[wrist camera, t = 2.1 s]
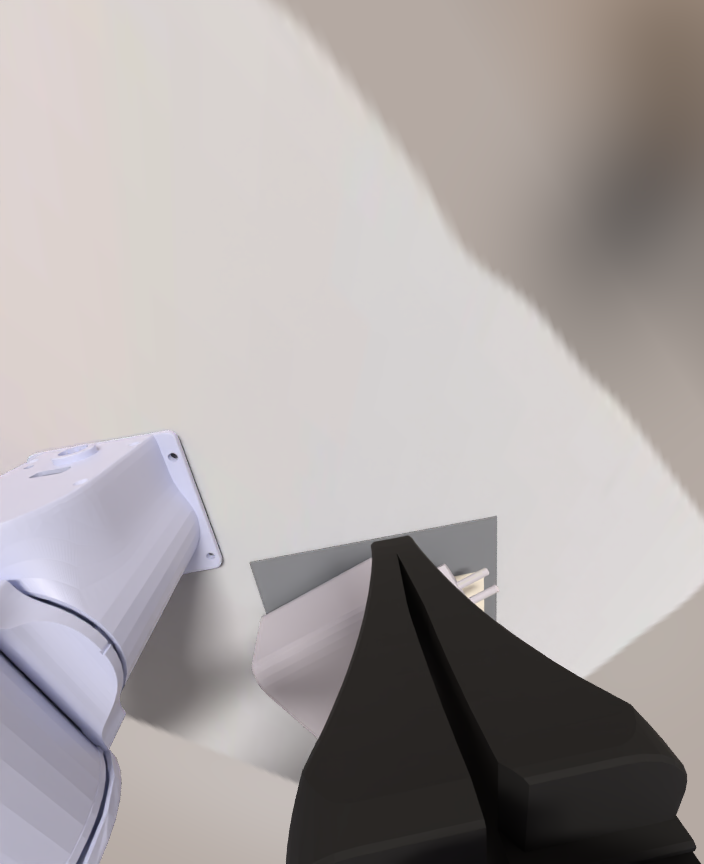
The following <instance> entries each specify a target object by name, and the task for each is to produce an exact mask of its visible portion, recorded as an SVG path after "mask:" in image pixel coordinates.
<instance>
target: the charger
mask: <svg viewBox="0 0 704 864" xmlns="http://www.w3.org/2000/svg"><path fill="white" fill-rule="evenodd" d="M371 566H372V558H369V559H367V560H365V561H363V562H362V563H360V564H358V565H356V566H354V567H352V568H351V569H349V570H347V571H345V572H343V573H341V574H340V575H338V576H336V577H334V578H332V579H330V580H329V581H327V582H325V583H323V584H321V585H319V586H318V587H316V588H314V589H312V590H310V591H309V592H307V593H305V594H303V595H301V596H299V597H298V598H296V599H294V600H292V601H290V602H288V603H287V604H285V605H283V606H281V607H279V608H277V609H276V610H274V611H272V612H270V613H268V614H266V615H265V616H263V617H262V618H261V620H260V625H259V630H258V635H257V640H256V646H255V651H254V656H253V661H252V671H253V674H254V677H255V679H256V681H257V683H258V684H259V686H260V687H261V689H262V690H263V691H264V692H265V693H266V694H267V695H268V696H269V697H271V698H272V699H273V700H274V701H275V702H276V703H277V704H279V705H280V706H281V707H282V708H283V709H284V710H286V711H287V712H288V713H289V714H290V715H291V716H292V717H294V718H295V719H296V720H297V721H298V722H299V723H301V724H302V725H303V726H304V727H305V728H306V729H307V730H309V731H310V732H311V733H312V734H313V735H314V736H316V737H317V738H319V736H320V734H321V732H322V730H323V728H324V726H325V724H326V721H327V719H328V717H329V715H330V712H331V710H332V707H333V705H334V703H335V700H336V698H337V695H338V693H339V691H340V688H341V686H342V683H343V681H344V678H345V675H346V673H347V670H348V667H349V664H350V661H351V658H352V655H353V652H354V649H355V646H356V643H357V639H358V636H359V632H360V628H361V625H362V621H363V617H364V612H365V607H366V602H367V597H368V592H369V585H370V577H371ZM437 568H438V569H439V570H440V571H441V572H442V573H443V574H444V575H445V576H446V577H447V578H448V580H449V581H450V582H452V583H453V584H454V585H455V586H456V587H457V588H458V589H459V590H460V591H461V592H462V593H463V594H464V595H465V593H464V592H463V590H462V588H464V587H466V586H468V585H470V584H472V583H474V582H476V581H478V580H480V579H482V578H484V577H485V576H487V575H489V571H488V570H487V568H483V569H481V570H479V571H477V572H475V573H473V574H471V575H469V576H467V577H465V578H464V579H462V580H460V581H458V582H457V581H456V579H455V577H454V576H453V574H452V573H451V571H450V569H449V568H448V567H447V566H446V564H445V563H444V564H442V565H440V566H438V567H437ZM497 592H499V589H498V587H497V586H496V585H493V586H491V587H489V588H487V589H485V590H483V591H481V592H479V593H477V594H475V595H473V596H471V597H469V599H470V600H471V601H472V602H473V603H474V604H476V603H478V602H480V601H482V600H483V599H485V598H487V597H489V596H491V595H493V594H495V593H497ZM465 596H466V595H465Z"/></svg>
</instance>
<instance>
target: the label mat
mask: <svg viewBox="0 0 704 864" xmlns="http://www.w3.org/2000/svg"><path fill="white" fill-rule="evenodd" d="M407 535H409V536H410V537H412V538H413V540H414V541H415V543H416V544H417V545H418V546H419V548H420V549H421V550H422V551H423V553H424V554H425V555H426V556H427V557H428V558H429V559H430V561H431V562H432V563H433V564H434V565H435V566H436V567H438V566H440V565H442V564H444V563H445V564H446V566H447V567H448V568H449V569H450V571H451V573H452V574H453V576H454V577H455V579H456V581H457V582H458V581H460V580H462V579H464V578H465V577H467V576H469V575H471V574H473V573H475V572H477V571H479V570H481V569H483V568H487V570H488V571H489V575H487V576H485V577H484V578H482V579H480V580H478V581H476V582H474V583H472V584H470V585H468V586H466V587H464V588H462V590H463V592H464V593H465V595H466V597H468V598H469V597H471V596H473V595H475V594H477V593H479V592H481V591H483V590H485V589H487V588H489V587H491V586H493V585H496V584H497V517H496V516H494V517H489V518H484V519H478V520H473V521H468V522H462V523H457V524H452V525H446V526H441V527H436V528H430V529H425V530H420V531H414V532H409V533H404V534H398V535H393V536H388V537H382V538H377V539H372V540H366V541H361V542H356V543H350V544H345V545H340V546H334V547H329V548H323V549H318V550H313V551H307V552H302V553H297V554H291V555H286V556H281V557H275V558H270V559H265V560H259V561H254V562H250V566H251V569H252V572H253V575H254V578H255V581H256V584H257V587H258V590H259V593H260V596H261V599H262V602H263V605H264V608H265V611H266V614H268V613H270V612H272V611H274V610H276V609H277V608H279V607H281V606H283V605H285V604H287V603H288V602H290V601H292V600H294V599H296V598H298V597H299V596H301V595H303V594H305V593H307V592H309V591H310V590H312V589H314V588H316V587H318V586H319V585H321V584H323V583H325V582H327V581H329V580H330V579H332V578H334V577H336V576H338V575H340V574H341V573H343V572H345V571H347V570H349V569H351V568H352V567H354V566H356V565H358V564H360V563H362V562H363V561H365V560H367V559H369V558H372V551H371V544H372V543H373V542H375V541H381V540H386V539H391V538H397V537H402V536H407ZM475 605H477V606H478V607H479V608H480V609H481V610H483V611H484V612H485V613H486V614H488V615H489V616H490V617H491V618H493V619H494V620H495V621H496V593H495V594H493V595H491V596H489V597H487V598H485V599H483V600H482V601H480V602H478V603H476V604H475Z"/></svg>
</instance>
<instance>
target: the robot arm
mask: <svg viewBox="0 0 704 864" xmlns="http://www.w3.org/2000/svg"><path fill="white" fill-rule="evenodd" d="M171 453H175V454H176V455H177V456H178V459H175V458H173V457H172V456H171ZM371 551H372V566H371V577H370V585H369V592H368V597H367V602H366V607H365V612H364V617H363V621H362V625H361V628H360V632H359V636H358V639H357V643H356V646H355V649H354V652H353V655H352V658H351V661H350V664H349V667H348V670H347V673H346V675H345V678H344V681H343V683H342V686H341V688H340V691H339V693H338V695H337V698H336V700H335V703H334V705H333V707H332V710H331V712H330V715H329V717H328V719H327V721H326V724H325V726H324V728H323V730H322V732H321V734H320V736H319V738H318V740H317V742H316V744H315V746H314V748H313V750H312V752H311V754H310V756H309V758H308V760H307V763H306V765H305V767H304V769H303V771H302V775H301V778H300V782H299V787H298V791H297V795H296V799H295V804H294V808H293V813H292V818H291V824H290V830H289V838H288V844H287V855H286V864H701V863H700V862H699V860H698V859H697V858H696V856H695V854H694V853H693V851H695V849H696V845H695V843H694V841H693V839H692V837H691V836H690V835H689V833H688V832H687V830H686V829H685V828H684V826H683V825H682V823H681V822H680V820H679V819H678V818H677V816H676V814H677V811H678V809H679V806H680V803H681V801H682V798H683V795H684V793H685V790H686V784H687V774H686V771H685V768H684V766H683V764H682V763H681V762H680V760H679V759H678V758H677V757H676V755H675V754H674V753H673V752H672V751H671V749H670V748H669V747H668V746H667V744H666V743H665V742H664V740H663V739H662V738H661V737H660V736H659V735H658V734H657V732H656V731H655V730H654V729H653V728H652V727H651V726H650V725H649V724H648V722H647V721H646V720H645V719H644V718H643V717H642V716H641V715H640V714H639V713H638V712H637V711H636V710H635V709H634V708H633V706H632V705H631V704H629V703H627V702H625V701H623V700H622V699H620V698H617V697H616V696H614V695H612V694H610V693H608V692H607V691H605V690H603V689H601V688H599V687H597V686H595V685H594V684H592V683H590V682H588V681H586V680H584V679H582V678H581V677H579V676H577V675H575V674H574V673H572V672H570V671H569V670H567V669H566V668H564V667H562V666H561V665H559V664H557V663H556V662H554V661H552V660H551V659H549V658H548V657H546V656H545V655H543V654H542V653H540V652H539V651H537V650H536V649H534V648H533V647H531V646H530V645H528V644H527V643H525V642H524V641H522V640H521V639H519V638H518V637H516V636H515V635H514V634H512V633H511V632H510V631H508V630H507V629H506V628H504V627H503V626H502V625H500V624H499V623H498V622H496V621H495V620H494V619H493V618H491V617H490V616H489V615H488V614H486V613H485V612H484V611H483V610H481V609H480V608H479V607H478V606H477V605H475V604H474V603H473V602H472V601H471V600H470V599H469V598H468V597H466V596H465V595H464V594H463V593H462V592H461V591H460V590H459V589H458V588H457V587H456V586H455V585H454V584H453V583H452V582H450V581H449V580H448V578H447V577H446V576H445V575H444V574H443V573H442V572H441V571H440V570H439V569H438V568H437V567H436V566H435V565H434V564H433V563H432V562H431V561H430V559H429V558H428V557H427V556H426V555H425V554H424V553H423V551H422V550H421V549H420V548H419V546H418V545H417V544H416V543H415V541H414V540H413V538H412V537H410V536H409V535H407V536H402V537H397V538H391V539H386V540H381V541H375V542H373V543H372V544H371ZM209 553H213V554H214V555H210V554H209ZM221 562H222V555H221V552H220V550H219V547H218V544H217V542H216V539H215V536H214V533H213V531H212V528H211V525H210V522H209V520H208V517H207V514H206V511H205V509H204V506H203V503H202V501H201V498H200V495H199V492H198V490H197V487H196V484H195V481H194V479H193V476H192V473H191V470H190V468H189V465H188V462H187V460H186V457H185V454H184V451H183V449H182V446H181V443H180V440H179V438H178V436H177V434H176V433H174V432H173V431H170V430H166V431H160V432H154V433H148V434H142V435H136V436H131V437H125V438H119V439H113V440H107V441H102V442H96V443H87V444H81V445H77V446H72V447H67V448H61V449H55V450H49V451H43V452H38V453H35V454H33V455H31V456H29V457H28V459H27V462H26V463H24V464H22V465H20V466H18V467H16V468H14V469H12V470H10V471H8V472H6V473H4V474H2V475H1V476H0V864H99V863H100V860H101V858H102V856H103V853H104V851H105V848H106V846H107V844H108V841H109V838H110V835H111V832H112V829H113V826H114V823H115V820H116V815H117V811H118V807H119V802H120V795H121V784H122V782H121V771H120V767H119V764H118V761H117V759H116V757H115V756H114V755H113V753H112V752H111V751H110V750H109V748H110V746H111V744H112V742H113V740H114V738H115V736H116V733H117V732H118V729H119V727H120V725H121V723H122V721H123V719H124V717H125V715H126V712H125V710H124V709H123V708H122V706H121V703H120V694H121V691H122V689H123V687H124V686H125V684H126V682H127V680H128V678H129V676H130V674H131V672H132V670H133V668H134V666H135V664H136V663H137V661H138V659H139V657H140V655H141V653H142V651H143V649H144V647H145V645H146V643H147V641H148V640H149V638H150V636H151V634H152V632H153V630H154V628H155V626H156V624H157V622H158V620H159V618H160V617H161V615H162V613H163V611H164V609H165V607H166V605H167V603H168V601H169V599H170V597H171V595H172V593H173V592H174V590H175V588H176V586H177V584H178V582H179V580H180V578H181V576H182V574H186V573H192V572H197V571H202V570H208V569H213V568H217V567H219V566H220V565H221Z"/></svg>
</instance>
